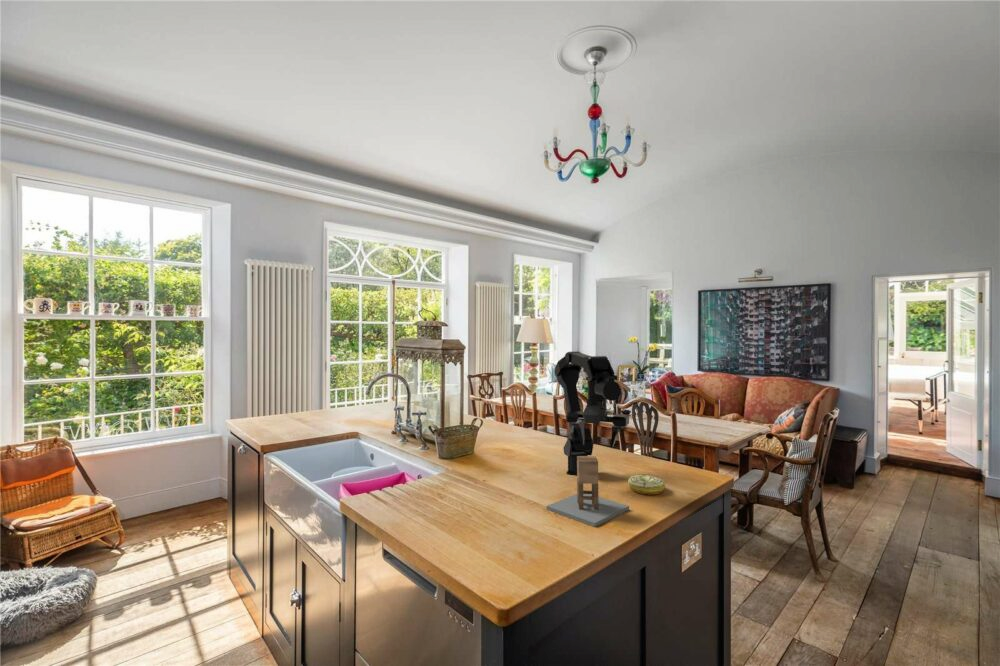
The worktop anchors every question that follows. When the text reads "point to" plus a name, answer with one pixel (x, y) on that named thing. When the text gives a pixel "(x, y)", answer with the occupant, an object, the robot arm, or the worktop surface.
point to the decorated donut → (646, 484)
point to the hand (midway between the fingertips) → (597, 445)
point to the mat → (588, 510)
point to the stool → (587, 480)
